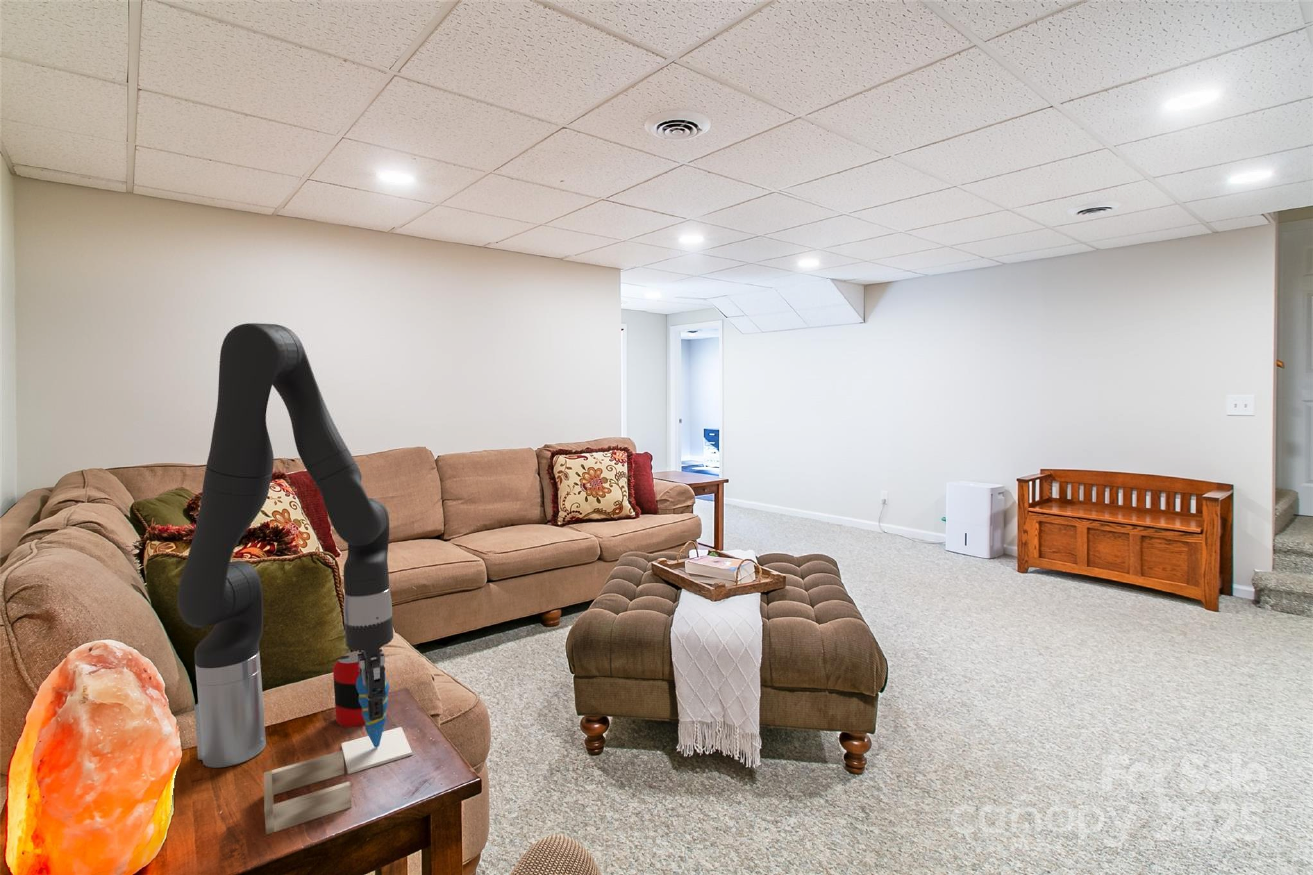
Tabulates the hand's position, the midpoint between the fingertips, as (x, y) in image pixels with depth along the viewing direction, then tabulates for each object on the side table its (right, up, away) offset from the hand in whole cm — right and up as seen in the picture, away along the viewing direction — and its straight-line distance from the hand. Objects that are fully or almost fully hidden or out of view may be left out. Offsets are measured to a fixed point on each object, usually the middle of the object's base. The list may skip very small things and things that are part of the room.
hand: (373, 711), depth 111 cm
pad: (0, -7, +1) cm, 7 cm away
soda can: (-8, -7, +12) cm, 16 cm away
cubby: (-4, -8, -13) cm, 16 cm away
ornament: (0, -7, +1) cm, 7 cm away
